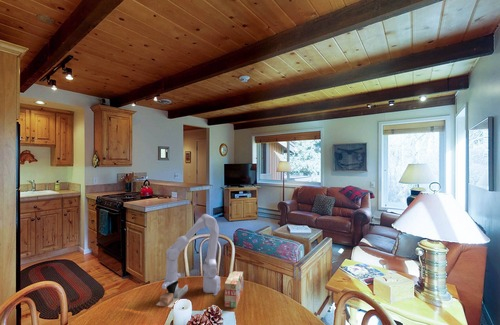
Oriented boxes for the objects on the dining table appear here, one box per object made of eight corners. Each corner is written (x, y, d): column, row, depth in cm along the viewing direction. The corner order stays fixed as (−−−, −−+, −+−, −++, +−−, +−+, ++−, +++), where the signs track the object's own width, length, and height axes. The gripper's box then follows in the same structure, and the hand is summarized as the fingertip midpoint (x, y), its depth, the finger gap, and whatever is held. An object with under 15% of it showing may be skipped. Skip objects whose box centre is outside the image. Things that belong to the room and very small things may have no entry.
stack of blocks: (233, 286, 138) (233, 265, 138) (243, 287, 137) (243, 266, 137) (224, 307, 116) (224, 282, 117) (236, 308, 116) (236, 283, 116)
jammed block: (173, 301, 120) (173, 293, 120) (167, 306, 115) (167, 298, 115) (165, 299, 121) (165, 292, 121) (159, 305, 116) (159, 297, 116)
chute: (188, 291, 131) (189, 285, 132) (171, 309, 114) (171, 302, 114) (175, 289, 134) (175, 283, 134) (155, 306, 116) (155, 299, 116)
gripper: (172, 264, 130) (172, 288, 130) (157, 275, 116) (156, 302, 116) (183, 265, 129) (183, 289, 128) (169, 277, 115) (168, 304, 114)
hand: (171, 296), depth 122 cm, fingers closed
